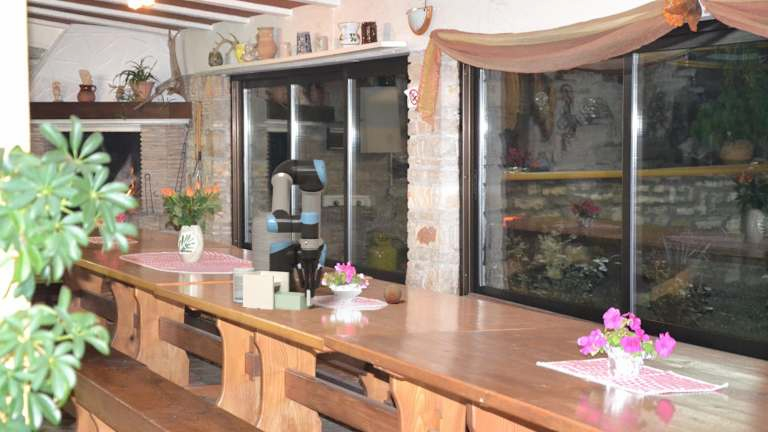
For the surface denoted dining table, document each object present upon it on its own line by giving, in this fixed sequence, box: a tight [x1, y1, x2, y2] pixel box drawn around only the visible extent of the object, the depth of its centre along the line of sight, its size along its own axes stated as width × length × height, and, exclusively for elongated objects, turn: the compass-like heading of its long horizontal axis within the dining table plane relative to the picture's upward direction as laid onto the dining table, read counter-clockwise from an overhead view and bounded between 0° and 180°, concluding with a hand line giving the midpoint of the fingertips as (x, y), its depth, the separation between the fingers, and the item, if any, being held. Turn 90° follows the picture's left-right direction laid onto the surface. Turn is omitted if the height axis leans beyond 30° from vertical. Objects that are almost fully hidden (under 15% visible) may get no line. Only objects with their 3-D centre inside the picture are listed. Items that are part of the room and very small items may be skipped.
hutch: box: [242, 271, 289, 310], centre depth 446 cm, size 15×14×14 cm
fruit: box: [383, 284, 403, 305], centre depth 459 cm, size 8×8×8 cm
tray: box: [273, 291, 311, 312], centre depth 442 cm, size 10×14×6 cm
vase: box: [251, 211, 292, 272], centre depth 547 cm, size 20×20×34 cm
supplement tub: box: [232, 267, 255, 304], centre depth 456 cm, size 10×10×15 cm
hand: (309, 305), depth 439 cm, fingers closed
